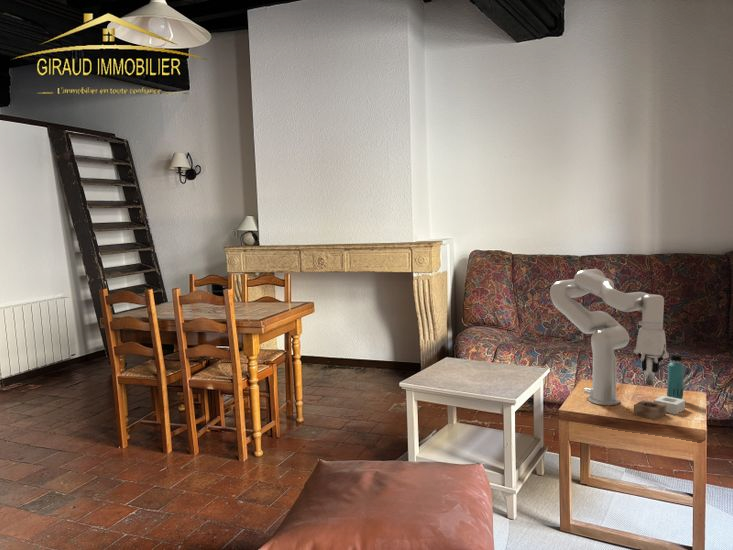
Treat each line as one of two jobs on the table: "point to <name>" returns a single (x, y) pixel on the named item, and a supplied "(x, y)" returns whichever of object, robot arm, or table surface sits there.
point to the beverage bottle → (675, 378)
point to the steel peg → (649, 370)
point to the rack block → (671, 404)
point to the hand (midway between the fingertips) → (650, 370)
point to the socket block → (650, 409)
